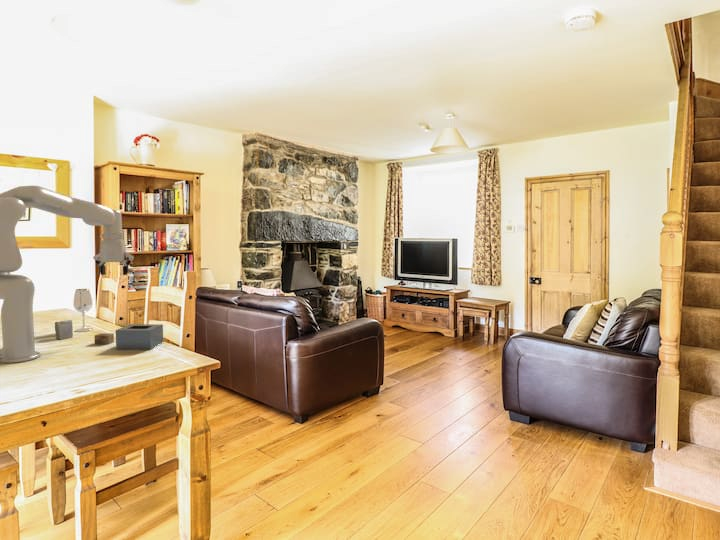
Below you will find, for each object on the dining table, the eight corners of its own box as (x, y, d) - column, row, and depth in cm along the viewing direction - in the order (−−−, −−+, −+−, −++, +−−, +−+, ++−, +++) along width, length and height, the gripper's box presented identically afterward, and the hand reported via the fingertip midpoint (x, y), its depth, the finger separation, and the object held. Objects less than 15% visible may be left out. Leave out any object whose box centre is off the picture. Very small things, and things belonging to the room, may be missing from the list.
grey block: (79, 334, 208) (75, 318, 205) (62, 342, 200) (58, 326, 197) (66, 332, 209) (62, 316, 207) (49, 340, 201) (45, 324, 199)
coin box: (116, 349, 184) (115, 330, 183) (130, 342, 196) (130, 324, 195) (150, 349, 184) (150, 330, 183) (163, 342, 196) (162, 324, 195)
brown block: (94, 344, 192) (94, 335, 192) (100, 342, 196) (99, 333, 196) (108, 344, 193) (108, 335, 192) (113, 342, 197) (113, 333, 196)
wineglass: (78, 332, 214) (76, 290, 213) (71, 330, 219) (70, 289, 217) (96, 329, 220) (94, 289, 219) (89, 327, 225) (87, 288, 223)
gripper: (88, 237, 200) (90, 275, 202) (129, 237, 202) (130, 275, 203) (97, 237, 208) (98, 274, 209) (136, 237, 209) (137, 273, 211)
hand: (114, 274), depth 206 cm, fingers open, 9 cm apart
